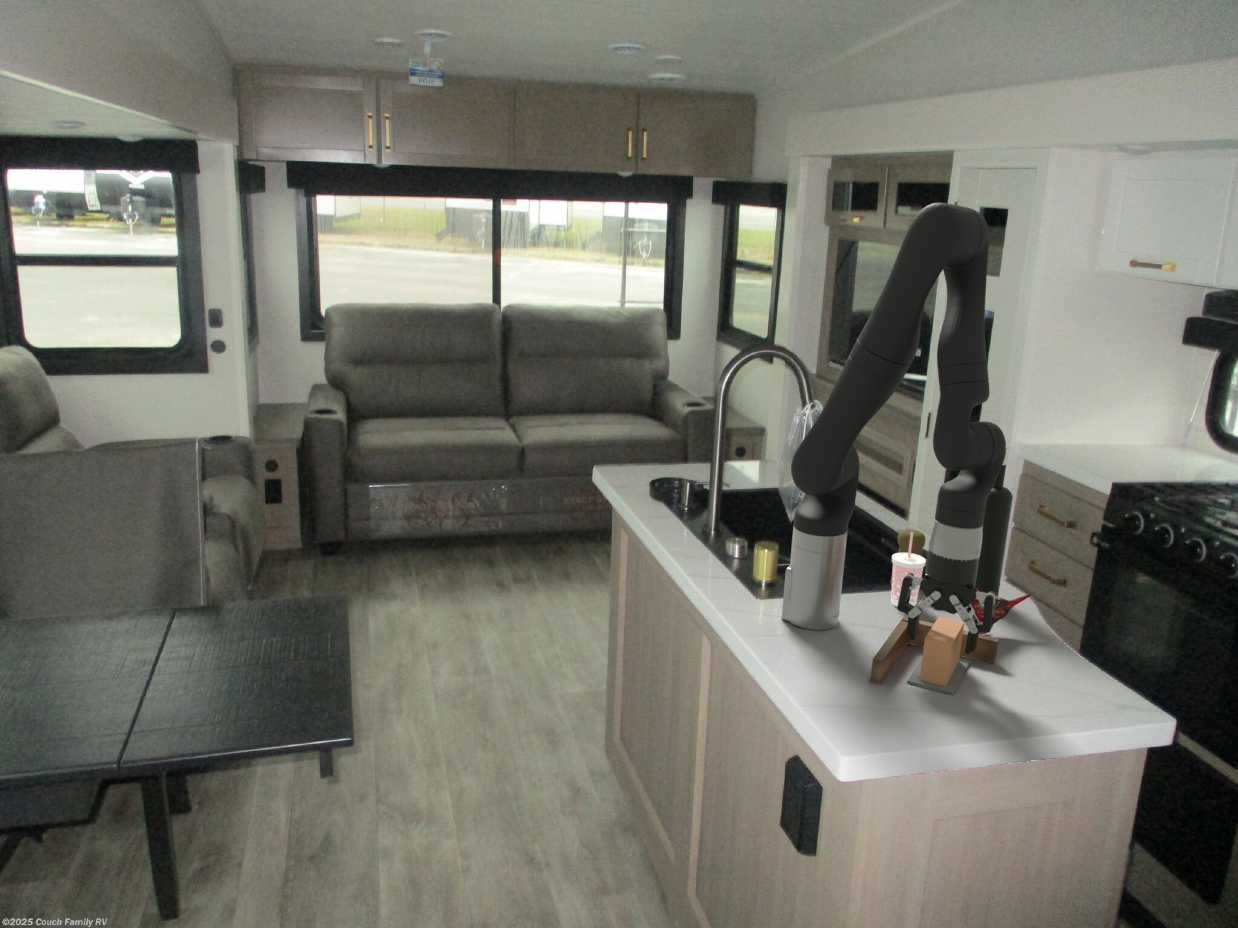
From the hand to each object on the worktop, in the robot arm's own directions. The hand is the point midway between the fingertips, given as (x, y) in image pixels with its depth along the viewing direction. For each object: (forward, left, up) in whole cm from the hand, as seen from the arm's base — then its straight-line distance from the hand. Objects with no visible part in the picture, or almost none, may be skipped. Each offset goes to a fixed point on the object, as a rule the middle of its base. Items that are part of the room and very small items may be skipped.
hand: (940, 645), depth 155 cm
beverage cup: (-12, +25, -5) cm, 28 cm away
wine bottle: (0, +36, -5) cm, 37 cm away
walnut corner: (0, 0, -5) cm, 5 cm away
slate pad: (0, 0, -5) cm, 5 cm away
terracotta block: (0, 0, -4) cm, 4 cm away
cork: (-14, +35, -5) cm, 38 cm away
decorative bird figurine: (+4, +20, -5) cm, 21 cm away
